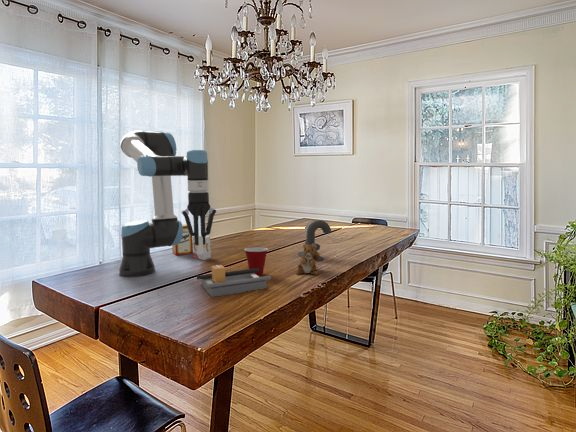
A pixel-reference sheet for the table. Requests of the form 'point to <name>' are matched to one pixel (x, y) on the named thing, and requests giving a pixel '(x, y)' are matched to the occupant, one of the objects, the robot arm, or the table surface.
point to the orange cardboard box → (184, 243)
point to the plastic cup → (256, 258)
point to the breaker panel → (234, 288)
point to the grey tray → (235, 280)
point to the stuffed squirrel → (308, 260)
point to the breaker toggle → (218, 273)
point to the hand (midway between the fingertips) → (200, 253)
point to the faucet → (311, 235)
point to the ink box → (206, 249)
